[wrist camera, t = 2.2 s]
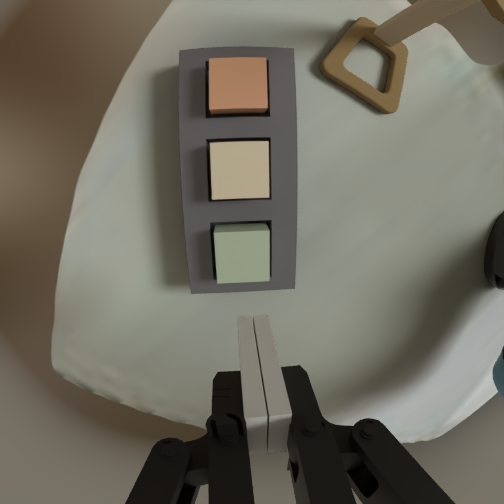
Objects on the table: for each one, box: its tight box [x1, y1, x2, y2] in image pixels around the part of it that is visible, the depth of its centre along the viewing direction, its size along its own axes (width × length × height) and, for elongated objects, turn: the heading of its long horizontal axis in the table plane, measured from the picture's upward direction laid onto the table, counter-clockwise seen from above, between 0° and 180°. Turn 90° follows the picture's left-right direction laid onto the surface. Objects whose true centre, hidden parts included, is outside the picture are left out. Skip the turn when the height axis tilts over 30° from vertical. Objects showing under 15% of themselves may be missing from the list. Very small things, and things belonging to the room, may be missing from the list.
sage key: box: [214, 223, 270, 284], centre depth 28 cm, size 5×5×3 cm
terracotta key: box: [209, 57, 268, 115], centre depth 22 cm, size 5×5×3 cm
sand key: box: [210, 141, 269, 200], centre depth 25 cm, size 5×5×3 cm
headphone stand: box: [320, 0, 504, 114], centre depth 15 cm, size 10×11×22 cm
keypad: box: [179, 47, 297, 294], centre depth 27 cm, size 25×11×4 cm, turn 1°
